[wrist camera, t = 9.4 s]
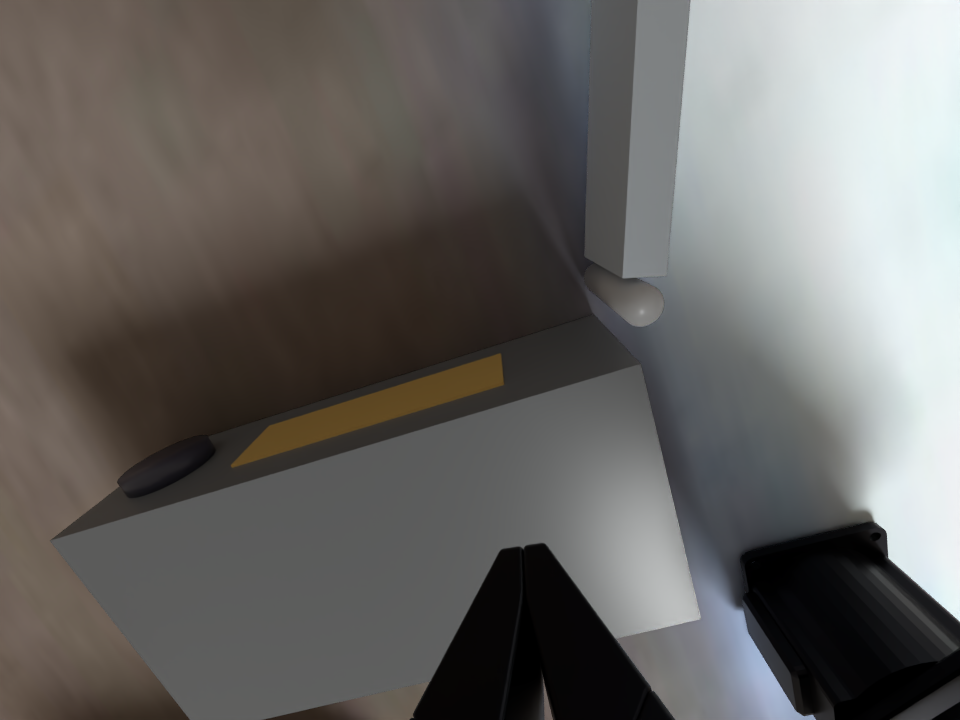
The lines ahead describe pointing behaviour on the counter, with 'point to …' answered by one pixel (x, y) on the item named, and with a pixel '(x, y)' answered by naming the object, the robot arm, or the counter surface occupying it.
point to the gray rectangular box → (386, 525)
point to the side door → (632, 149)
